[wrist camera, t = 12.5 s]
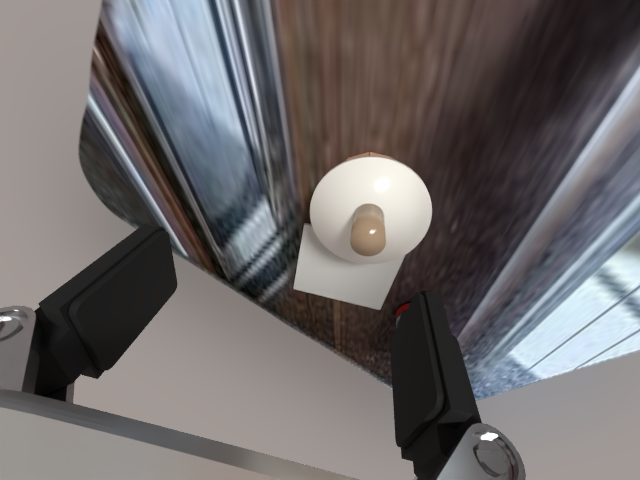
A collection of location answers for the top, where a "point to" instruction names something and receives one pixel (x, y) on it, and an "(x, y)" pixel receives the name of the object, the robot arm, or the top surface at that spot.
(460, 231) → the top surface
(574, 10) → the top surface
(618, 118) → the top surface
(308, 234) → the mat
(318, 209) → the lid
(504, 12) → the top surface
